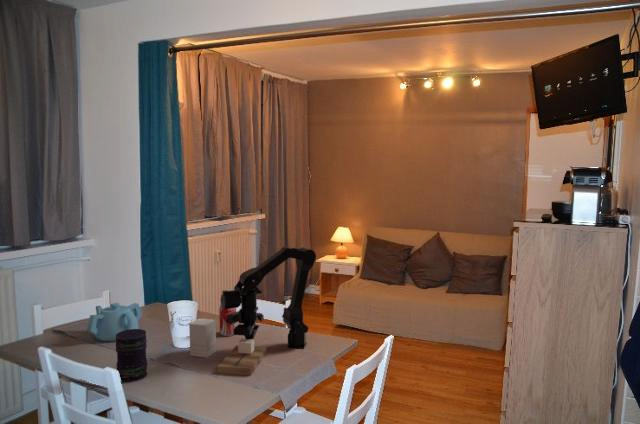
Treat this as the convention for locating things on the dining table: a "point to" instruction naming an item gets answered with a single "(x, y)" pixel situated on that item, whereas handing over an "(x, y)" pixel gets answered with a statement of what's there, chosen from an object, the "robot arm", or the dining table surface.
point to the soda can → (224, 326)
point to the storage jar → (131, 354)
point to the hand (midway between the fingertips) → (249, 345)
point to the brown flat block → (242, 361)
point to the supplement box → (202, 337)
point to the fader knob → (246, 346)
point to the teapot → (113, 320)
